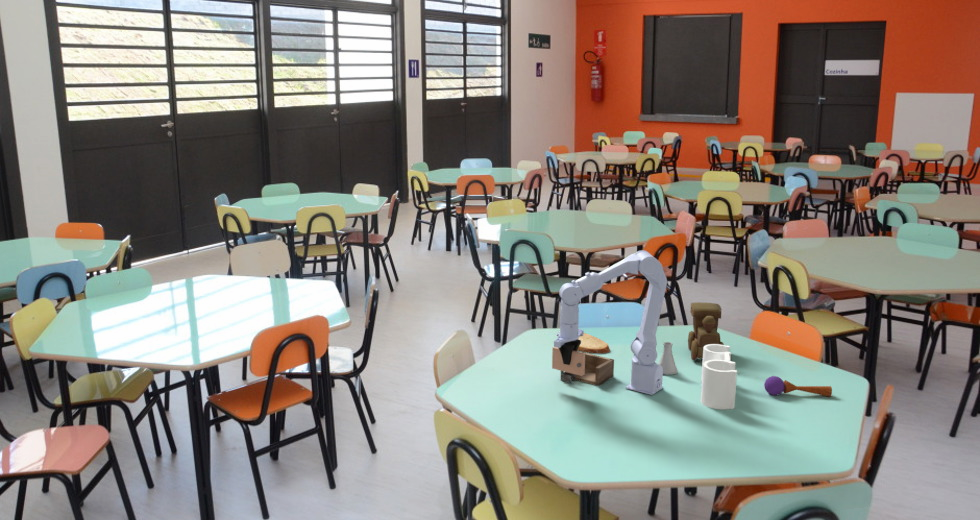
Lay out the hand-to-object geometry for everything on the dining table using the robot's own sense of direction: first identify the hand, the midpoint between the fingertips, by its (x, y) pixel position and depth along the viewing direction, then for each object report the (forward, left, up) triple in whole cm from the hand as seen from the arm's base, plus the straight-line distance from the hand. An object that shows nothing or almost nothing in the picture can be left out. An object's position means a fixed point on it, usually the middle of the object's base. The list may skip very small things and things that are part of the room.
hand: (568, 363), depth 257 cm
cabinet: (+1, -12, -9) cm, 15 cm away
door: (0, 0, -3) cm, 3 cm away
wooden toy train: (-22, -57, -9) cm, 62 cm away
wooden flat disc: (+18, -40, -10) cm, 45 cm away
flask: (-18, -34, -9) cm, 40 cm away
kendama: (-59, -40, -10) cm, 72 cm away
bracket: (-38, -26, -10) cm, 47 cm away
